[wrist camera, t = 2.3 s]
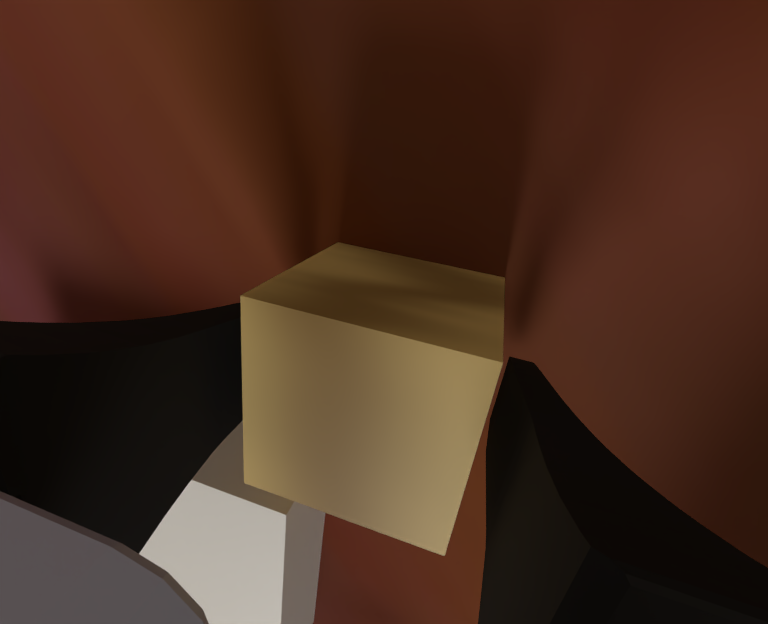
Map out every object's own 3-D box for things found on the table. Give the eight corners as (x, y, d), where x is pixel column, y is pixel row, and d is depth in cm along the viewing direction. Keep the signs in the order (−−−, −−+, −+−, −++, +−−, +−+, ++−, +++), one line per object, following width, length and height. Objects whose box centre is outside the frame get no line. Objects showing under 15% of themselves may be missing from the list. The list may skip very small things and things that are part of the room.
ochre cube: (505, 276, 11) (503, 362, 7) (465, 418, 13) (444, 556, 9) (339, 241, 12) (240, 295, 8) (326, 378, 14) (243, 483, 10)
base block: (337, 430, 15) (286, 515, 12) (317, 612, 20) (276, 711, 17) (89, 352, 18) (-16, 402, 14) (125, 532, 23) (53, 602, 19)
